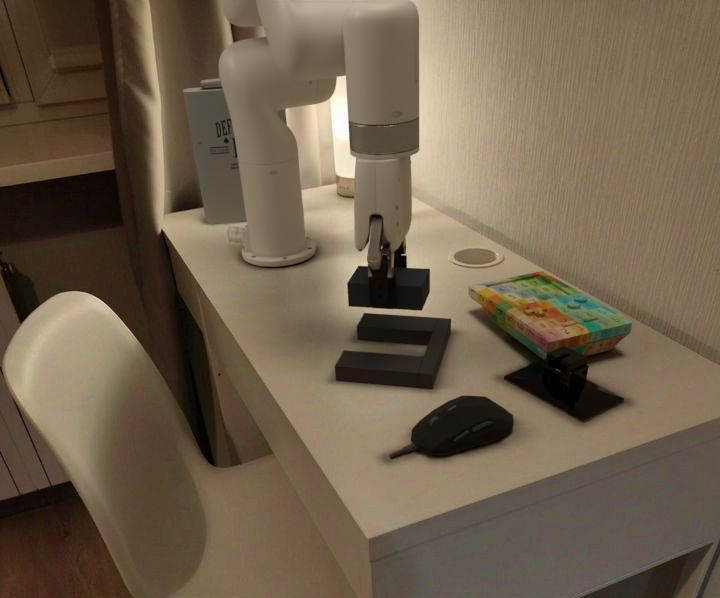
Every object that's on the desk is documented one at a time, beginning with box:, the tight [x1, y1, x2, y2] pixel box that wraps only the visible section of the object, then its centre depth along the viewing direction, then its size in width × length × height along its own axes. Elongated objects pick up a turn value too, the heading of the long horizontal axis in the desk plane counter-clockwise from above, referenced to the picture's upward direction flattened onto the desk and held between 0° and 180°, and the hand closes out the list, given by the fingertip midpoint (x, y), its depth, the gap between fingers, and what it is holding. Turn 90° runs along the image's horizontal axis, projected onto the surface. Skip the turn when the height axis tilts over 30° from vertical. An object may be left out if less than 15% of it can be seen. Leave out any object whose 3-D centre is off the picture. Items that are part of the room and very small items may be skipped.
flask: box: [182, 77, 288, 225], centre depth 132 cm, size 17×5×25 cm, turn 103°
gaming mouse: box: [388, 395, 515, 459], centre depth 77 cm, size 6×15×4 cm, turn 116°
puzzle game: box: [468, 270, 633, 360], centre depth 95 cm, size 12×5×20 cm
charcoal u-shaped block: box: [334, 312, 452, 389], centre depth 93 cm, size 15×12×2 cm
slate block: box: [346, 265, 431, 311], centre depth 88 cm, size 6×9×3 cm, turn 76°
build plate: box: [503, 346, 625, 423], centre depth 84 cm, size 12×7×5 cm, turn 35°
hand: (388, 295), depth 88 cm, fingers closed on slate block, 5 cm apart
